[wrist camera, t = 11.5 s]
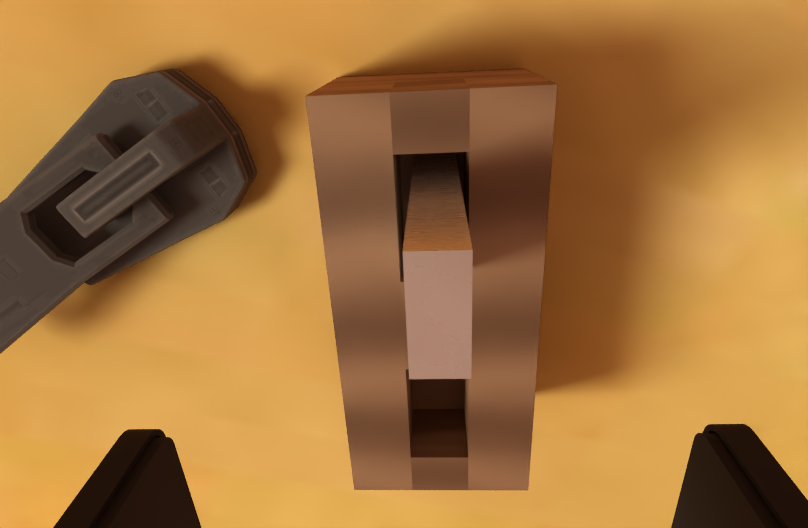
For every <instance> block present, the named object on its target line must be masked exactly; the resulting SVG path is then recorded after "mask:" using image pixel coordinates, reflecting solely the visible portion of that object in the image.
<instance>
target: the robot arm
mask: <svg viewBox="0 0 808 528" xmlns="http://www.w3.org/2000/svg"><path fill="white" fill-rule="evenodd" d="M53 528H201V525H200V522H199V519H198V516H197V513H196V510H195V507H194V503H193V500H192V497H191V494H190V491H189V488H188V485H187V482H186V479H185V476H184V472H183V469H182V466H181V463H180V460H179V457H178V454H177V451H176V448H175V445H174V442H173V440H172V439H171V438H170V437H166V436H165V434H164V432H163V431H162V430H160V429H132V430H127V431H125V432H124V433H123V434H122V435H121V436H120V437H119V438H118V440H117V441H116V443H115V444H114V445H113V447H112V448H111V449H110V451H109V452H108V454H107V455H106V456H105V458H104V459H103V460H102V462H101V463H100V464H99V466H98V467H97V469H96V470H95V471H94V473H93V474H92V475H91V477H90V478H89V480H88V481H87V482H86V484H85V485H84V486H83V488H82V489H81V490H80V492H79V493H78V495H77V496H76V497H75V499H74V500H73V501H72V503H71V504H70V506H69V507H68V508H67V510H66V511H65V512H64V514H63V515H62V516H61V518H60V519H59V521H58V522H57V523H56V525H55V526H54V527H53ZM671 528H808V500H807V499H806V498H805V496H804V495H803V494H802V492H801V491H800V490H799V489H798V487H797V486H796V485H795V483H794V482H793V481H792V480H791V478H790V477H789V476H788V475H787V473H786V472H785V471H784V469H783V468H782V467H781V466H780V464H779V463H778V462H777V461H776V459H775V458H774V457H773V455H772V454H771V453H770V452H769V450H768V449H767V448H766V447H765V445H764V444H763V443H762V441H761V440H760V439H759V438H758V436H757V435H756V434H755V432H754V431H753V430H752V429H751V428H750V427H749V426H747V425H745V424H710V425H707V426H706V427H705V429H704V431H703V433H698V434H696V435H695V438H694V441H693V445H692V449H691V453H690V457H689V461H688V464H687V468H686V472H685V476H684V480H683V484H682V488H681V492H680V496H679V500H678V504H677V508H676V511H675V515H674V519H673V523H672V527H671Z"/></svg>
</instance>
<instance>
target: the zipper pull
mask: <svg viewBox="0 0 808 528" xmlns="http://www.w3.org/2000/svg"><path fill="white" fill-rule="evenodd" d="M256 173H257V172H256V168H255V165H254V163H253V160H252V157H251V155H250V152H249V149H248V147H247V144H246V141H245V139H244V136H243V133H242V131H241V129H240V128H239V126H238V125H237V124H236V123H235V121H234V120H233V119H232V117H231V116H230V115H229V113H228V112H227V111H226V109H225V108H224V107H223V105H222V104H221V103H220V101H219V100H218V99H217V98H216V97H215V96H213V95H212V94H211V93H209V92H208V91H207V90H205V89H204V88H203V87H201V86H200V85H199V84H197V83H196V82H195V81H193V80H192V79H191V78H189V77H188V76H187V75H185V74H184V73H183V72H181V71H180V70H178V69H169V70H164V71H158V72H153V73H148V74H143V75H138V76H133V77H128V78H123V79H118V80H114V81H112V82H111V83H110V84H109V85H108V86H107V87H106V88H105V89H104V90H103V92H102V93H101V94H100V95H99V96H98V97H97V99H96V100H95V101H94V102H93V103H92V104H91V105H90V107H89V108H88V109H87V110H86V111H85V112H84V113H83V115H82V116H81V117H80V118H79V119H78V120H77V121H76V122H75V124H74V125H73V126H72V127H71V128H70V129H69V130H68V131H67V132H66V133H65V135H64V136H63V137H62V138H61V139H60V140H59V141H58V142H57V143H56V144H55V146H54V147H53V148H52V149H51V150H50V151H49V152H48V153H47V154H46V155H45V157H44V158H43V159H42V160H41V161H40V162H39V163H38V164H37V165H36V166H35V168H34V169H33V170H32V171H31V172H30V173H29V174H28V175H27V176H26V177H25V179H24V180H23V181H22V182H21V183H20V184H19V185H18V186H17V187H16V188H15V190H14V191H13V192H12V193H11V194H10V195H9V196H8V198H6V199H5V200H4V201H2V202H1V203H0V353H2V352H3V351H4V350H5V349H6V348H8V347H9V346H10V345H11V344H12V343H13V342H15V341H16V340H17V339H18V338H19V337H21V336H22V335H23V334H24V333H25V332H26V331H28V330H29V329H30V328H31V327H32V326H33V325H35V324H36V323H37V322H38V321H39V320H41V319H42V318H43V317H44V316H45V315H46V314H48V313H49V312H50V311H51V310H52V309H54V308H55V307H56V306H57V305H58V304H59V303H61V302H62V301H63V300H64V299H65V298H66V297H68V296H69V295H70V294H71V293H72V292H74V291H75V290H76V289H77V288H78V287H79V286H81V285H82V284H83V283H86V284H89V285H94V284H96V283H98V282H100V281H102V280H104V279H106V278H108V277H110V276H112V275H114V274H116V273H118V272H120V271H122V270H124V269H126V268H128V267H130V266H132V265H134V264H136V263H138V262H140V261H142V260H144V259H146V258H148V257H150V256H152V255H154V254H156V253H158V252H160V251H162V250H164V249H166V248H167V247H169V246H171V245H173V244H175V243H177V242H179V241H181V240H183V239H185V238H187V237H190V236H192V235H194V234H196V233H198V232H200V231H202V230H204V229H206V228H208V227H210V226H212V225H214V224H217V223H219V222H221V221H223V220H224V219H226V218H227V217H228V216H229V215H230V214H231V213H232V212H233V211H234V210H235V209H236V208H237V207H238V206H239V204H240V202H241V201H242V199H243V197H244V195H245V194H246V192H247V190H248V188H249V186H250V185H251V183H252V181H253V179H254V178H255V176H256Z"/></svg>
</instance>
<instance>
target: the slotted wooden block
mask: <svg viewBox="0 0 808 528" xmlns="http://www.w3.org/2000/svg"><path fill="white" fill-rule="evenodd" d="M556 94H557V84H555V83H553V82H551V81H549V80H547V79H545V78H542V77H540V76H538V75H536V74H534V73H532V72H530V71H528V70H526V69H524V68H523V69H502V70H482V71H461V72H441V73H420V74H399V75H379V76H358V77H338V78H336V79H334V80H333V81H331V82H329V83H327V84H326V85H324V86H322V87H321V88H319V89H317V90H315V91H314V92H312V93H310V94H308V95H307V96H305V97H306V105H307V113H308V121H309V129H310V137H311V145H312V153H313V161H314V169H315V177H316V185H317V193H318V201H319V209H320V218H321V226H322V234H323V242H324V250H325V258H326V266H327V274H328V282H329V290H330V298H331V306H332V314H333V322H334V330H335V338H336V346H337V354H338V362H339V370H340V378H341V386H342V394H343V402H344V410H345V418H346V426H347V434H348V442H349V451H350V459H351V467H352V475H353V483H354V490H528V485H529V471H530V457H531V443H532V429H533V415H534V401H535V387H536V373H537V359H538V345H539V331H540V317H541V303H542V289H543V275H544V261H545V247H546V233H547V219H548V205H549V191H550V177H551V163H552V150H553V136H554V122H555V108H556ZM428 154H455V156H456V162H457V167H458V173H459V178H460V184H461V189H462V195H463V200H464V205H465V211H466V216H467V222H468V227H469V233H470V238H471V244H472V249H473V268H472V368H471V379H409V367H408V348H407V329H406V310H405V291H404V271H403V252H402V251H403V243H404V235H405V227H406V219H407V211H408V203H409V195H410V187H411V180H412V172H413V164H414V156H415V155H428Z"/></svg>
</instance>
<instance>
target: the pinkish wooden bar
mask: <svg viewBox="0 0 808 528" xmlns="http://www.w3.org/2000/svg"><path fill="white" fill-rule="evenodd" d="M402 252H403V271H404V291H405V310H406V329H407V348H408V367H409V379H471V368H472V268H473V249H472V244H471V238H470V233H469V227H468V222H467V216H466V211H465V205H464V200H463V195H462V189H461V184H460V178H459V173H458V167H457V162H456V156H455V154H428V155H415V156H414V164H413V172H412V180H411V187H410V195H409V203H408V211H407V219H406V227H405V235H404V243H403V251H402Z"/></svg>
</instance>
